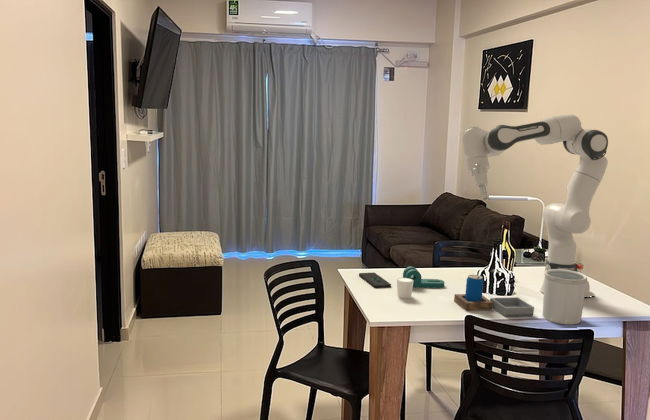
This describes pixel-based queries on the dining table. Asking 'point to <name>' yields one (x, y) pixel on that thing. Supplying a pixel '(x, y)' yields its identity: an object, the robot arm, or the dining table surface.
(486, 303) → the walnut collar block
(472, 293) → the beverage can
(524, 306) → the slate tray
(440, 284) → the bracket
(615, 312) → the dining table surface
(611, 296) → the dining table surface
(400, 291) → the shot glass
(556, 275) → the utensil holder
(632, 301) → the dining table surface
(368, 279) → the smart home device
